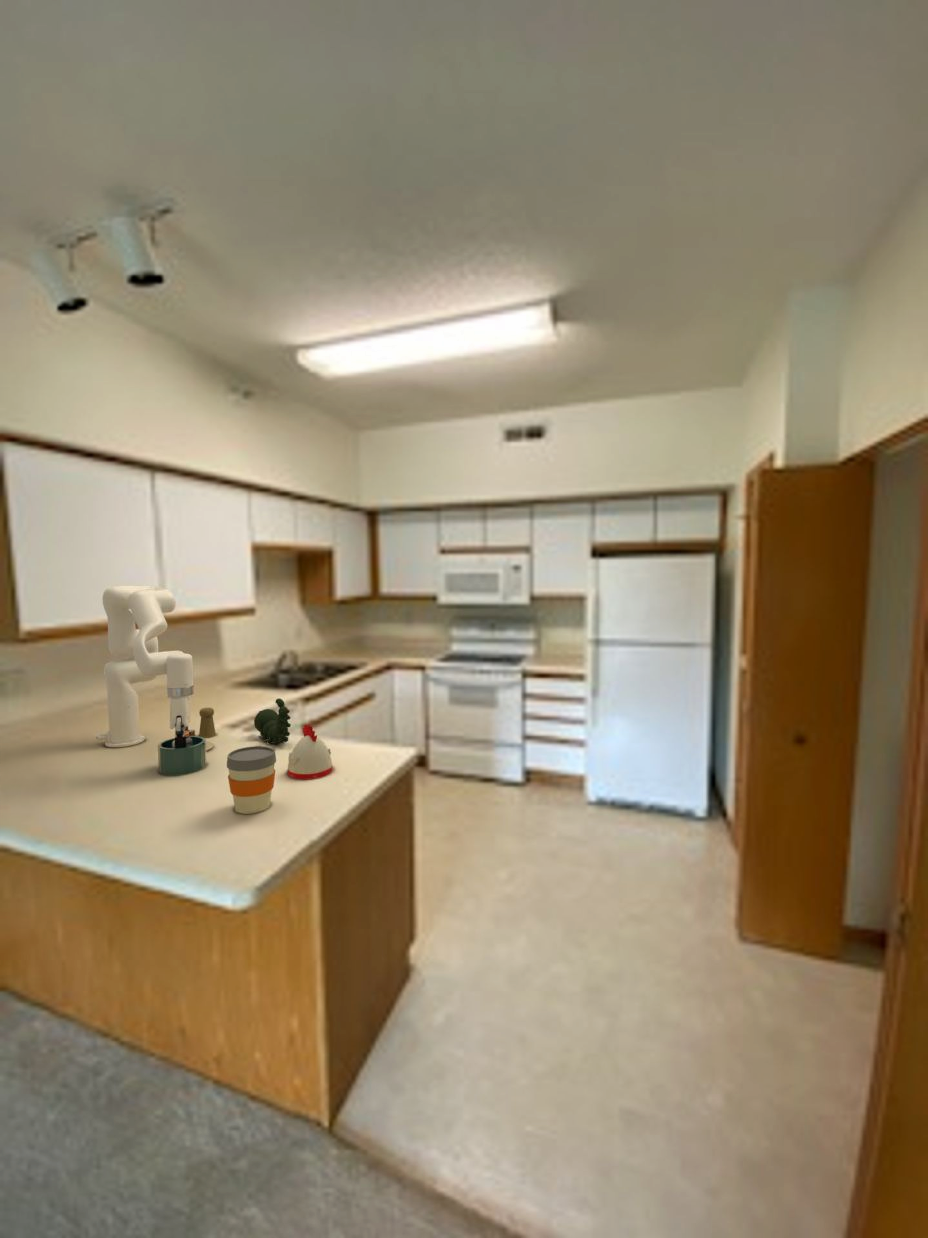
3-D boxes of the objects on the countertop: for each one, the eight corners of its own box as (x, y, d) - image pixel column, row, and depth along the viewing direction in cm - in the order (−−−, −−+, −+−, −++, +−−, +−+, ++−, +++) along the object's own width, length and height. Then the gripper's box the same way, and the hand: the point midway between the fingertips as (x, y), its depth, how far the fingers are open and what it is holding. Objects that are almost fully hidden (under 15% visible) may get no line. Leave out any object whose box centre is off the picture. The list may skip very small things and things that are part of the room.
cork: (208, 738, 204) (208, 710, 203) (195, 737, 205) (194, 709, 204) (219, 733, 210) (218, 706, 209) (205, 732, 211) (205, 705, 210)
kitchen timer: (319, 760, 180) (318, 718, 179) (340, 771, 171) (340, 726, 170) (280, 770, 171) (279, 725, 170) (300, 782, 161) (299, 735, 160)
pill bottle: (176, 770, 168) (175, 736, 168) (169, 766, 172) (168, 732, 172) (196, 766, 173) (195, 732, 172) (188, 761, 177) (187, 728, 176)
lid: (164, 758, 181) (163, 738, 180) (171, 745, 194) (170, 727, 194) (211, 754, 186) (210, 734, 186) (214, 741, 200) (214, 723, 199)
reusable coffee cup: (227, 820, 136) (226, 763, 135) (228, 801, 147) (226, 749, 146) (278, 812, 141) (277, 757, 140) (275, 794, 152) (274, 743, 151)
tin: (155, 777, 164) (154, 751, 163) (163, 763, 177) (162, 738, 176) (203, 772, 169) (203, 746, 168) (207, 758, 181) (207, 734, 181)
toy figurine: (296, 749, 197) (271, 728, 215) (298, 701, 194) (271, 684, 213) (271, 755, 191) (247, 733, 209) (272, 704, 188) (248, 687, 206)
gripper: (171, 687, 177) (173, 739, 179) (162, 698, 161) (164, 755, 163) (196, 685, 180) (198, 737, 181) (190, 696, 164) (191, 753, 165)
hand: (182, 745), depth 172 cm, fingers closed on pill bottle, 6 cm apart
